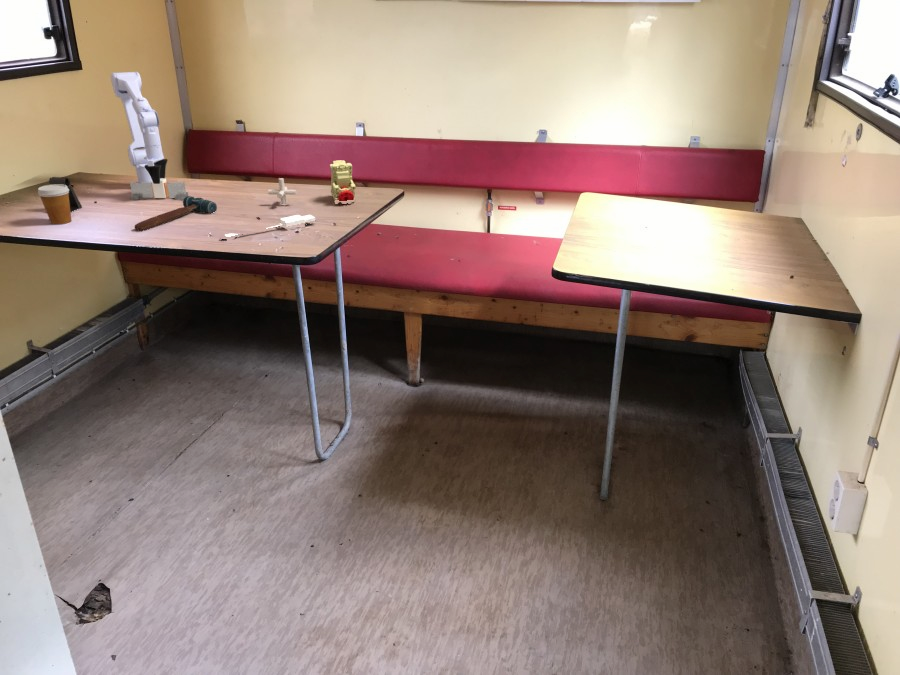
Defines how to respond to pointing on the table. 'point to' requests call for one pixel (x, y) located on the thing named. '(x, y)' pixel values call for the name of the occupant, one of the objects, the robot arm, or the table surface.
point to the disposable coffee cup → (56, 202)
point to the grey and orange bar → (146, 191)
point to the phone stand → (72, 196)
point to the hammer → (178, 212)
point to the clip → (159, 189)
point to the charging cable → (288, 222)
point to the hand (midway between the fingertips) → (159, 181)
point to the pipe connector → (282, 191)
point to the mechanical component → (342, 181)
